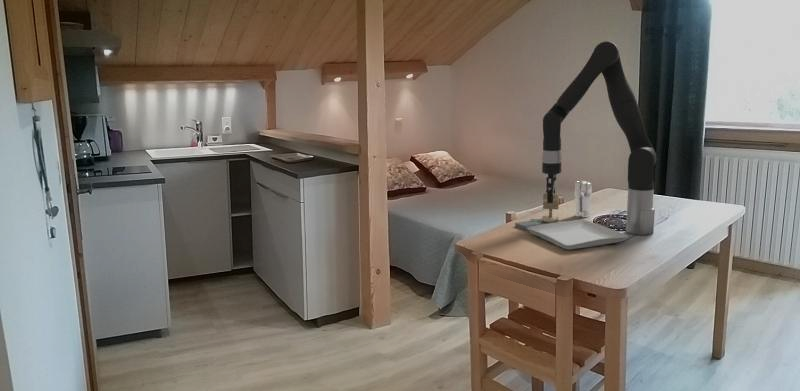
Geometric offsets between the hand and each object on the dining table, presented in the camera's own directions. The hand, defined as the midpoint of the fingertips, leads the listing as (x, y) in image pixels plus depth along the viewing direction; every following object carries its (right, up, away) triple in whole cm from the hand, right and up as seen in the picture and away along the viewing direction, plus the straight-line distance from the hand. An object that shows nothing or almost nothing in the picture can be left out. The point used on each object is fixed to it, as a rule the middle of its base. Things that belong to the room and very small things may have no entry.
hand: (551, 200), depth 255 cm
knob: (-2, -8, +3) cm, 9 cm away
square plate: (+5, -15, -18) cm, 24 cm away
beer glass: (+17, -7, +17) cm, 25 cm away
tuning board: (-3, -11, +1) cm, 11 cm away
